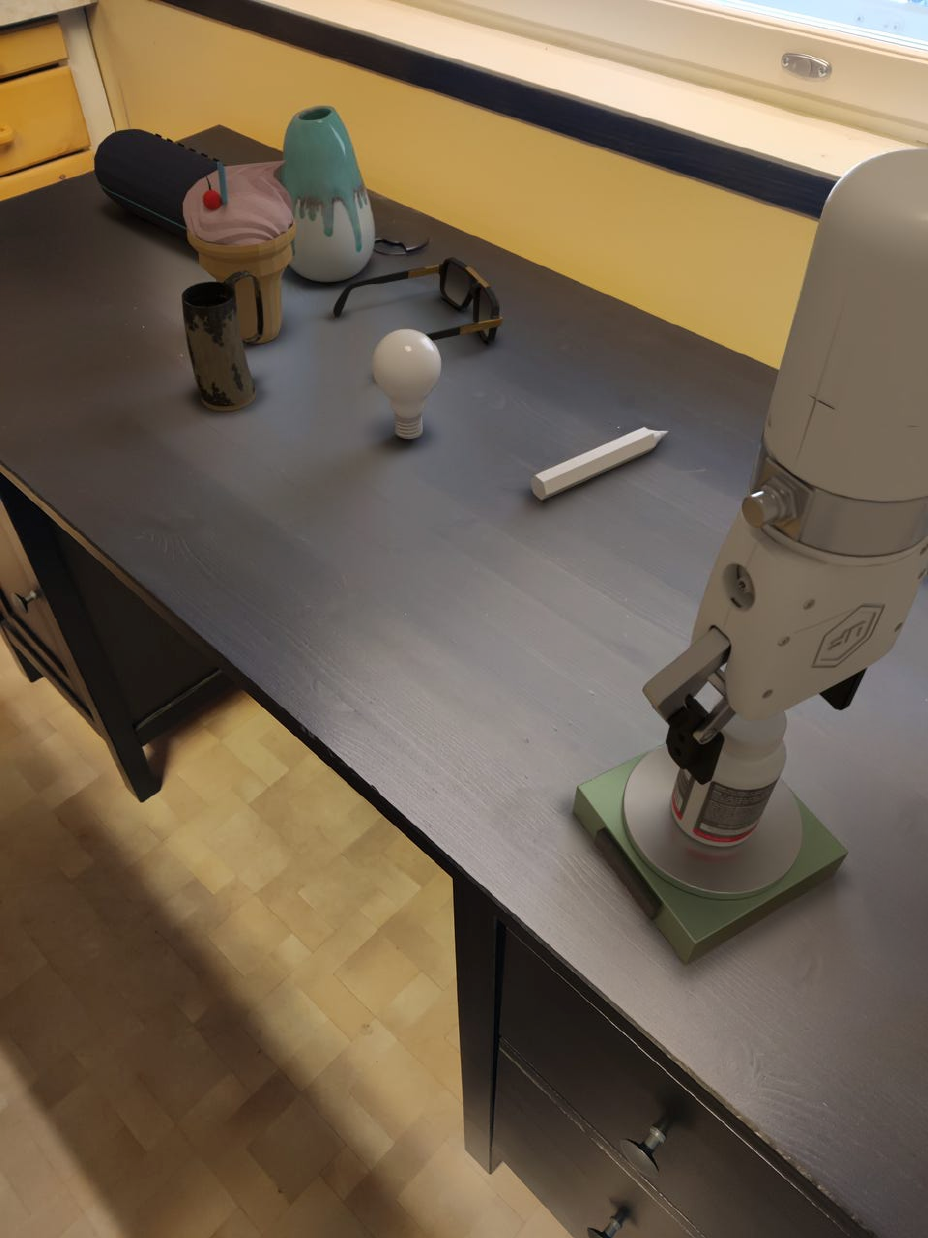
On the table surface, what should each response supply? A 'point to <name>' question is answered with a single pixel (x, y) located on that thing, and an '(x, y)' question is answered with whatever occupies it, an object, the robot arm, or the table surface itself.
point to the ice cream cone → (244, 236)
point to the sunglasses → (449, 296)
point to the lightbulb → (406, 376)
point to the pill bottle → (733, 783)
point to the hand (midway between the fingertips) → (757, 726)
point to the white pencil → (594, 462)
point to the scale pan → (703, 864)
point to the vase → (326, 198)
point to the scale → (678, 912)
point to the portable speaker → (150, 175)
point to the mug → (220, 342)
